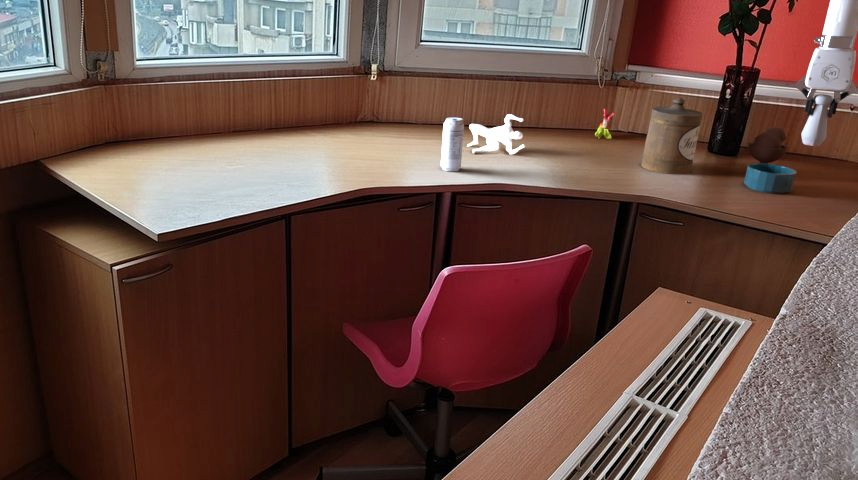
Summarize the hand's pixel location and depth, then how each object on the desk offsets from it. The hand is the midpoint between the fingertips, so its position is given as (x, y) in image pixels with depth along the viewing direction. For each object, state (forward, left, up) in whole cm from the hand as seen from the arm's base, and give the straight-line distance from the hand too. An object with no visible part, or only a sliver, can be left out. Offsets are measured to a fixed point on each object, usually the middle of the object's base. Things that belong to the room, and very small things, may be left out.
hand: (818, 115), depth 188 cm
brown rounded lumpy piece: (+9, -26, -24) cm, 37 cm away
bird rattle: (+63, -51, -24) cm, 85 cm away
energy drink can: (+92, +26, -24) cm, 99 cm away
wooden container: (+36, -16, -24) cm, 47 cm away
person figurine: (+89, -5, -24) cm, 93 cm away
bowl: (+7, -9, -24) cm, 27 cm away
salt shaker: (0, 0, -8) cm, 8 cm away
